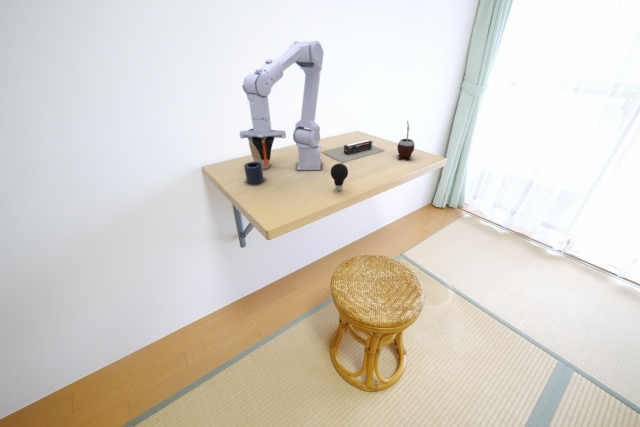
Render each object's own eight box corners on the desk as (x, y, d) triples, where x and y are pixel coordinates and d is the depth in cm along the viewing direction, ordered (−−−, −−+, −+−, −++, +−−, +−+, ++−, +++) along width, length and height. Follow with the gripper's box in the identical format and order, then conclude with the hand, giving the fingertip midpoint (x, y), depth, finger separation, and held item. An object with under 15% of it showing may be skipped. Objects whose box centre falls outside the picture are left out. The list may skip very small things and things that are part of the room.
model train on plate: (382, 150, 125) (383, 142, 123) (341, 162, 113) (342, 152, 111) (362, 143, 135) (363, 134, 133) (323, 152, 123) (323, 143, 121)
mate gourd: (405, 162, 113) (411, 126, 105) (391, 156, 118) (396, 123, 110) (415, 158, 116) (422, 124, 108) (401, 153, 122) (407, 120, 114)
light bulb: (334, 196, 87) (335, 168, 82) (327, 188, 92) (327, 162, 87) (350, 192, 89) (351, 165, 84) (342, 185, 94) (343, 159, 88)
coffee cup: (269, 171, 105) (264, 134, 97) (247, 170, 106) (241, 133, 98) (276, 163, 113) (273, 128, 104) (256, 161, 114) (251, 126, 106)
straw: (269, 164, 90) (266, 139, 85) (268, 166, 89) (265, 140, 84) (265, 164, 90) (261, 139, 86) (264, 166, 89) (260, 140, 84)
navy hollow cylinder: (264, 177, 100) (262, 161, 97) (261, 184, 95) (259, 168, 92) (249, 177, 100) (246, 161, 97) (245, 184, 95) (242, 168, 92)
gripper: (234, 120, 78) (241, 163, 85) (282, 120, 78) (285, 163, 85) (240, 115, 84) (246, 155, 91) (285, 115, 84) (288, 155, 91)
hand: (266, 158), depth 88 cm, fingers closed on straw, 1 cm apart
